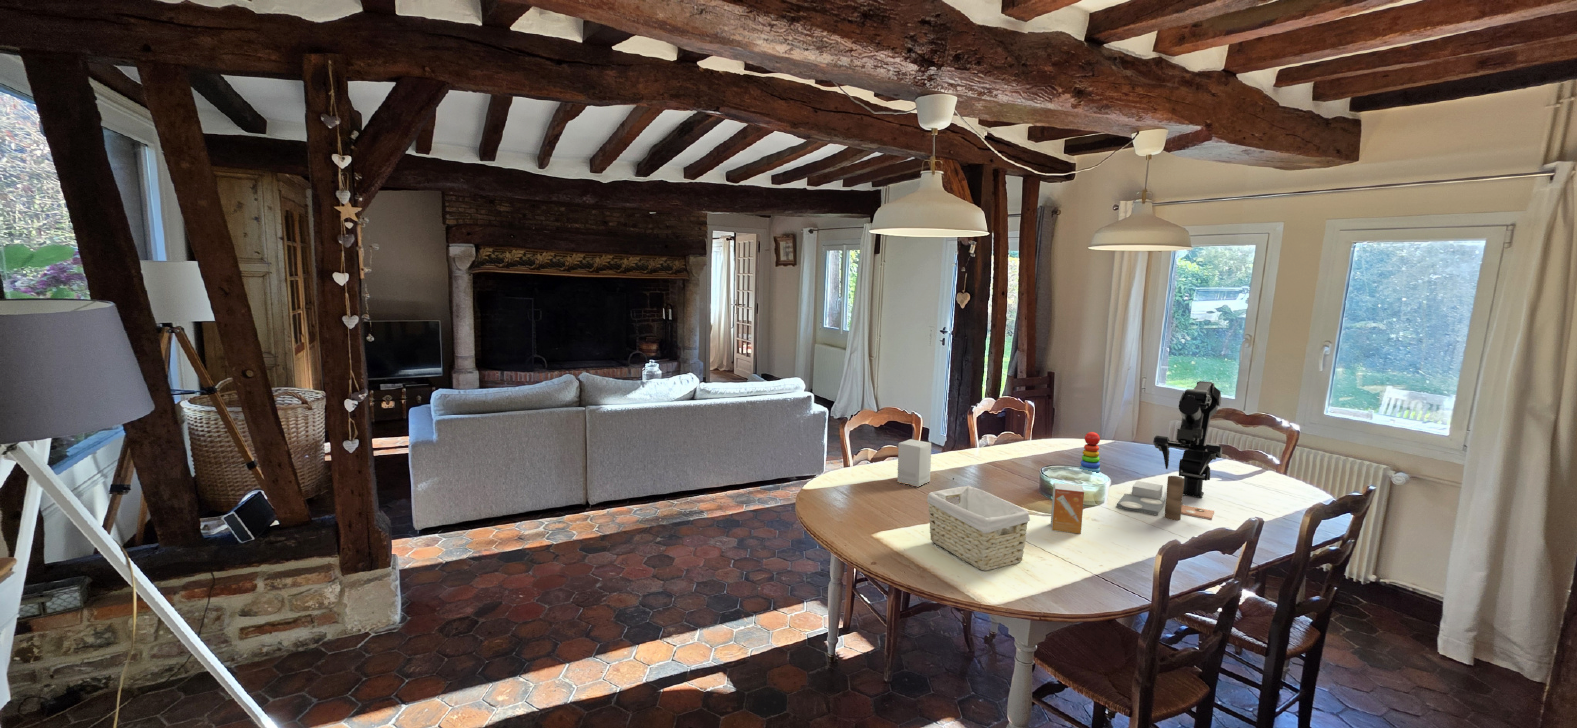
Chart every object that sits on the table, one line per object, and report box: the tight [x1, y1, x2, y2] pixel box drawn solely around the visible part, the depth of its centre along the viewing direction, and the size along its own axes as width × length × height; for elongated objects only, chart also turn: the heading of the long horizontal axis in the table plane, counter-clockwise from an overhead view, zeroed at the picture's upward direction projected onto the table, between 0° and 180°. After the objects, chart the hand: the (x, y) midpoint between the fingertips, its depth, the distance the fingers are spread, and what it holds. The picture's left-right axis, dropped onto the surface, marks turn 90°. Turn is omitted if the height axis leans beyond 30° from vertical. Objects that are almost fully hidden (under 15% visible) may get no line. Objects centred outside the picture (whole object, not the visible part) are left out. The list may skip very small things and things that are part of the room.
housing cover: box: [1131, 480, 1163, 500], centre depth 228 cm, size 8×8×4 cm
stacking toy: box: [1079, 431, 1101, 473], centre depth 244 cm, size 8×8×19 cm
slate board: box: [1116, 493, 1165, 516], centre depth 219 cm, size 15×12×1 cm
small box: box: [1050, 482, 1085, 535], centre depth 198 cm, size 8×6×13 cm
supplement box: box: [897, 438, 932, 487], centre depth 241 cm, size 9×9×15 cm
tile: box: [1181, 504, 1215, 520], centre depth 214 cm, size 8×10×1 cm
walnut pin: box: [1163, 475, 1184, 521], centre depth 208 cm, size 4×4×13 cm
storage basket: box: [926, 485, 1031, 572], centre depth 180 cm, size 24×16×15 cm
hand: (1182, 471), depth 212 cm, fingers open, 9 cm apart
